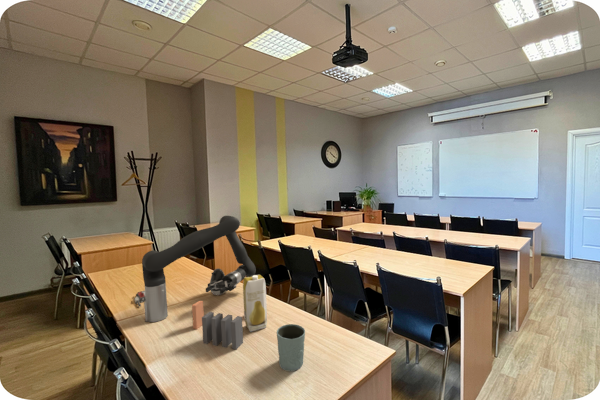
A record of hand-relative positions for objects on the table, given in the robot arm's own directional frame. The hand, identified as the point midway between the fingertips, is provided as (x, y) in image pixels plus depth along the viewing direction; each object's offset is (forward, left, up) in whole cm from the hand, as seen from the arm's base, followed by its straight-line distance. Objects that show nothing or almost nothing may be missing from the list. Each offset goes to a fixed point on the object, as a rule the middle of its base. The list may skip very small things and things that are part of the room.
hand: (213, 291), depth 138 cm
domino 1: (-6, -10, -12) cm, 17 cm away
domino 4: (+8, -28, -12) cm, 31 cm away
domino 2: (+1, -23, -12) cm, 26 cm away
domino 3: (+4, -25, -12) cm, 28 cm away
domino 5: (+12, -30, -12) cm, 35 cm away
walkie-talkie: (-43, +29, -13) cm, 54 cm away
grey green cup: (+32, -46, -12) cm, 57 cm away
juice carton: (+20, -17, -12) cm, 29 cm away
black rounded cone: (-1, +28, -12) cm, 31 cm away
